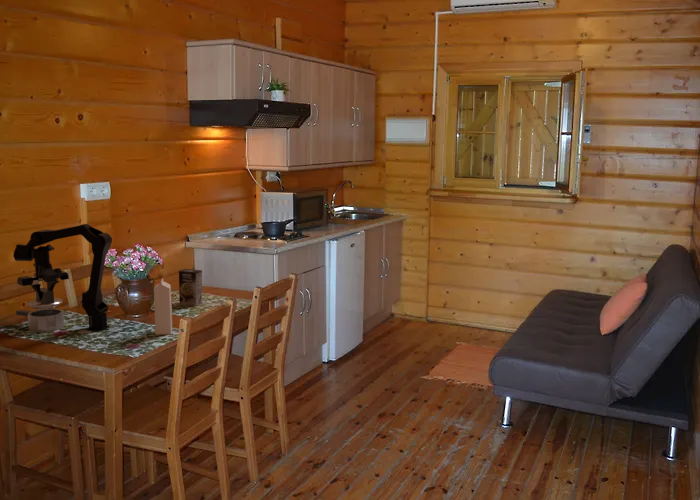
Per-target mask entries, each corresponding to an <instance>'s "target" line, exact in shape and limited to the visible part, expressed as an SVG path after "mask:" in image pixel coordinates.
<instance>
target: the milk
mask: <svg viewBox="0 0 700 500" xmlns="http://www.w3.org/2000/svg"><path fill="white" fill-rule="evenodd" d="M160 280H161V281H160V282H158V283H157V284H156V285H154V288H153V303H154V324H155V325H154V328H155V329H154V330H155V336H156V335H171V334H172V333H173V332H172V331H173V311H172V308H173V307H172V286H171V284H169V283H168V282H166V281H164V277H162V278H161V279H160Z"/></svg>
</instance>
